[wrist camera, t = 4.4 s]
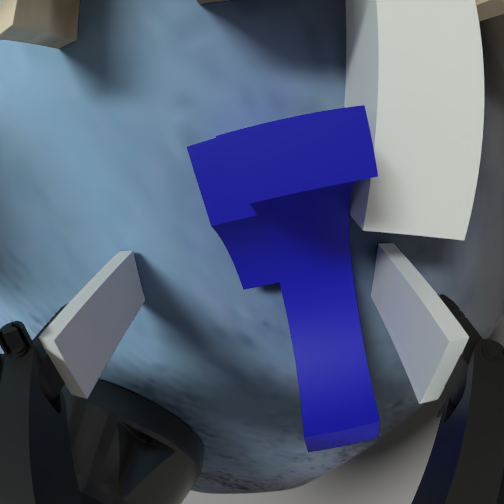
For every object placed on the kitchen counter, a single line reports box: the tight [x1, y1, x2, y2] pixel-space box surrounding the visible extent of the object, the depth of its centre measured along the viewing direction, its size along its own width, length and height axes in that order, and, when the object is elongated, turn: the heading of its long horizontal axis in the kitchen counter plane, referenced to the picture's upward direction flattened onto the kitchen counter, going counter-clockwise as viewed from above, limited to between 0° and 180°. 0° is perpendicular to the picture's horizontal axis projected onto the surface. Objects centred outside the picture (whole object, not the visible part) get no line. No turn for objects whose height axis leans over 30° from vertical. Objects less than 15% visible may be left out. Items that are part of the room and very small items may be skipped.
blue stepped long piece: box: [187, 105, 380, 452], centre depth 10 cm, size 12×4×6 cm, turn 15°
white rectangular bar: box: [345, 0, 484, 240], centre depth 7 cm, size 12×4×4 cm, turn 178°
